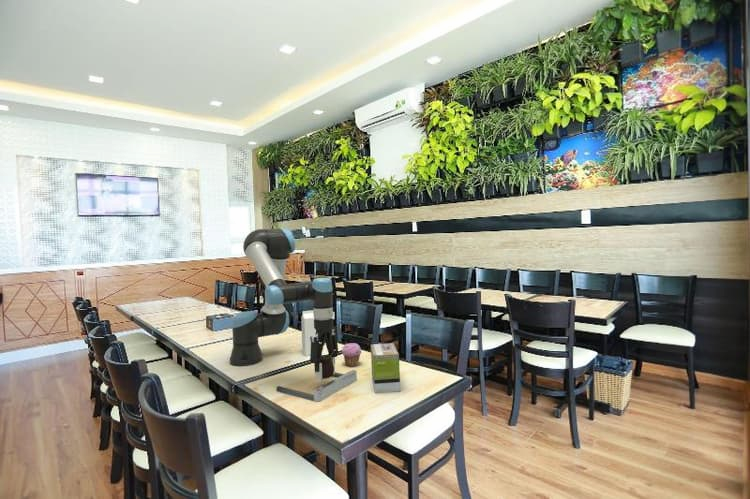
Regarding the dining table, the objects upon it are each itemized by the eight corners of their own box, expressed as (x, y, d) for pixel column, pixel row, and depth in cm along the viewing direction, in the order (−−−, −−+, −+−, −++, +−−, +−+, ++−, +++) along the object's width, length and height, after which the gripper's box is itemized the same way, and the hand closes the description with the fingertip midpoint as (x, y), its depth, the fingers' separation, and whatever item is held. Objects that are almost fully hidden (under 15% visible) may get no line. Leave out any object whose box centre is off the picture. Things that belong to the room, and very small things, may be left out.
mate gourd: (313, 375, 156) (312, 350, 156) (331, 372, 159) (331, 348, 159) (318, 381, 150) (317, 355, 149) (337, 378, 153) (336, 352, 152)
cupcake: (338, 365, 181) (337, 343, 180) (352, 360, 187) (351, 339, 187) (351, 369, 175) (351, 347, 174) (365, 364, 181) (364, 342, 181)
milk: (302, 353, 201) (300, 310, 200) (313, 351, 204) (312, 309, 203) (305, 356, 195) (304, 312, 195) (317, 354, 198) (315, 310, 197)
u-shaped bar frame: (276, 391, 152) (276, 380, 152) (317, 372, 172) (316, 363, 172) (318, 402, 141) (318, 391, 141) (356, 380, 161) (356, 370, 161)
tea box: (371, 379, 162) (370, 343, 162) (395, 377, 163) (394, 342, 163) (374, 393, 147) (373, 354, 147) (400, 392, 148) (399, 353, 148)
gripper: (313, 324, 143) (316, 386, 144) (346, 314, 160) (348, 370, 161) (298, 322, 147) (300, 383, 148) (331, 312, 164) (333, 367, 165)
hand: (325, 376), depth 154 cm, fingers closed on mate gourd, 7 cm apart
